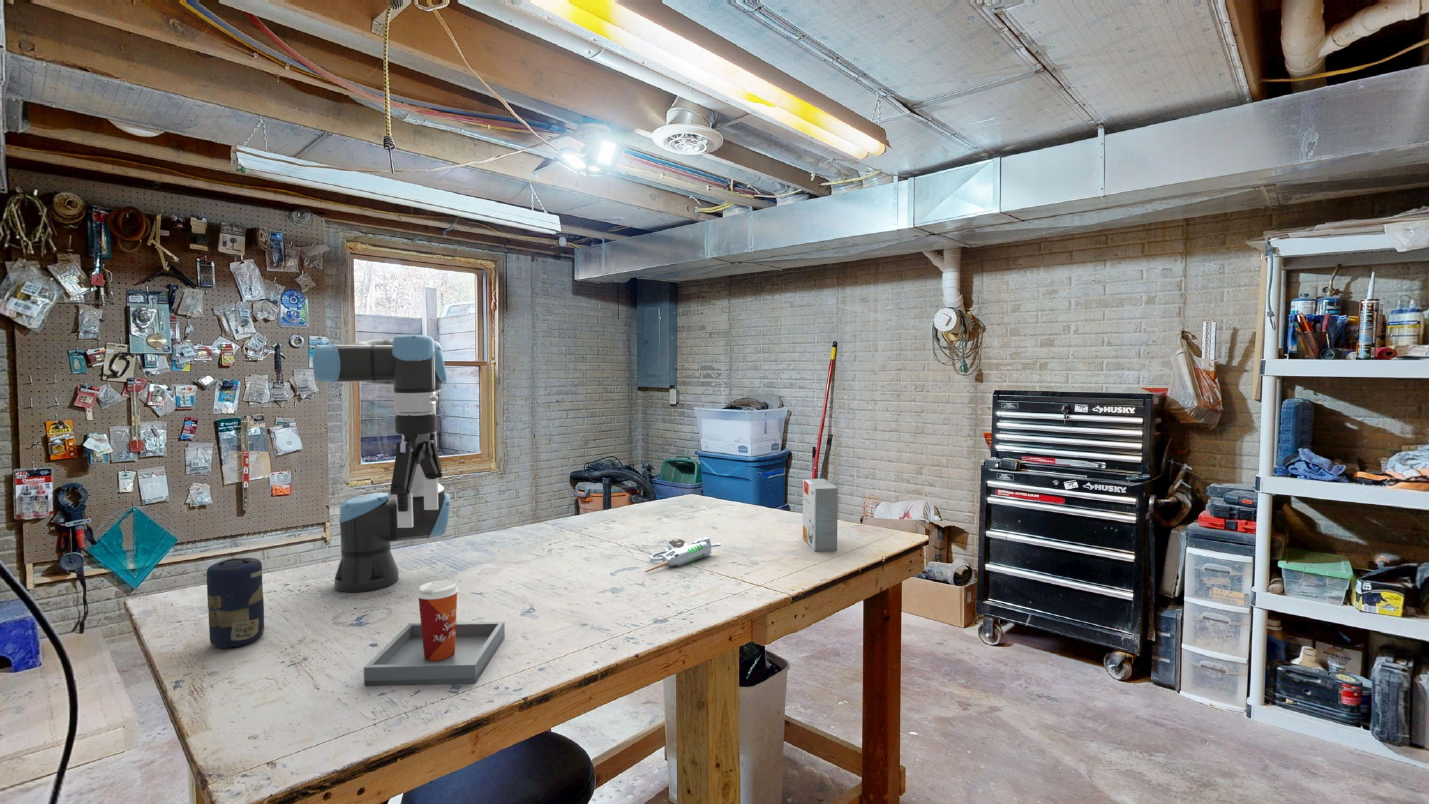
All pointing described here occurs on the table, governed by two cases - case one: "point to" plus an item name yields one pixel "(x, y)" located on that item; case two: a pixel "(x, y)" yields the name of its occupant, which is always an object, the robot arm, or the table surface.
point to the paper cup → (438, 618)
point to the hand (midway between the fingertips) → (419, 518)
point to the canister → (235, 602)
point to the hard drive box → (820, 514)
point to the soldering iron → (683, 552)
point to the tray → (410, 667)
